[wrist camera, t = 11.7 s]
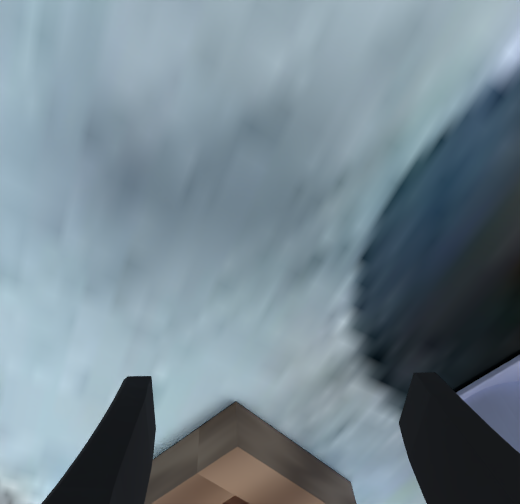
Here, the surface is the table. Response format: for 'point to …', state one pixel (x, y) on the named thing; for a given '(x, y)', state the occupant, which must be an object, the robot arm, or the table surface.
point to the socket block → (242, 467)
